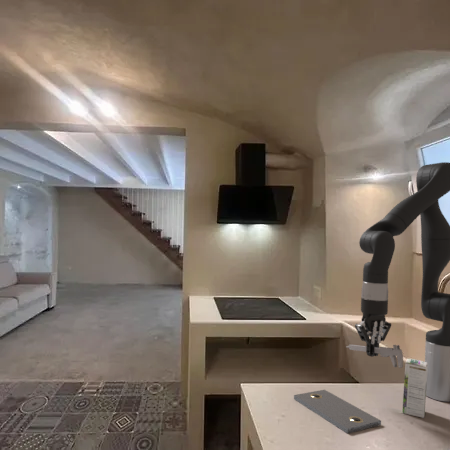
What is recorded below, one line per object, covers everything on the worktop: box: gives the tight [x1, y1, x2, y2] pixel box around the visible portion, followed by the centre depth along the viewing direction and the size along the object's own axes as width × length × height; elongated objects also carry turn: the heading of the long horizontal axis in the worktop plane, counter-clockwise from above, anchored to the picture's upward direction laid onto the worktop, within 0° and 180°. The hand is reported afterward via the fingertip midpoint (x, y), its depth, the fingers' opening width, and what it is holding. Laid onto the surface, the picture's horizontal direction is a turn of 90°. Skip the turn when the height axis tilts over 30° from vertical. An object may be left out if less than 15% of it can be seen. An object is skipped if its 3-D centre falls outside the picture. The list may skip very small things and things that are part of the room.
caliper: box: [345, 344, 404, 369], centre depth 117 cm, size 20×1×6 cm, turn 27°
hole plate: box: [293, 389, 382, 434], centre depth 112 cm, size 12×22×1 cm, turn 27°
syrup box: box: [402, 358, 428, 419], centre depth 114 cm, size 6×6×14 cm
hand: (372, 355), depth 117 cm, fingers closed on caliper, 1 cm apart
